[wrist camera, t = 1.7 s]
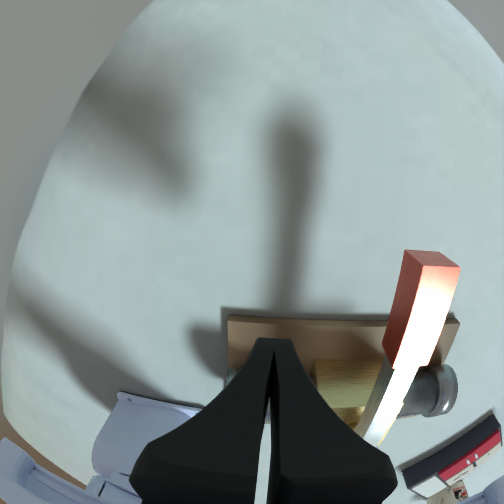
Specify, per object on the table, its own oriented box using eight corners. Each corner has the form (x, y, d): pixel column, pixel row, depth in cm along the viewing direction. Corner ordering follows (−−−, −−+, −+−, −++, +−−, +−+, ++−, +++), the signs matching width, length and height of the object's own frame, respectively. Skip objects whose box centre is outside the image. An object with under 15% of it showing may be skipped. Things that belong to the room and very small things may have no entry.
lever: (332, 452, 15) (334, 473, 13) (396, 248, 10) (414, 265, 9) (368, 449, 15) (372, 469, 13) (446, 252, 10) (467, 267, 9)
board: (231, 413, 23) (230, 420, 22) (229, 314, 20) (227, 320, 19) (413, 410, 22) (415, 416, 21) (455, 318, 18) (460, 323, 18)
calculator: (504, 449, 21) (425, 501, 25) (494, 432, 25) (419, 483, 29) (503, 428, 19) (407, 492, 23) (490, 408, 23) (400, 470, 27)
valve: (232, 397, 22) (220, 453, 16) (231, 351, 20) (216, 410, 15) (423, 393, 21) (444, 439, 15) (444, 350, 19) (474, 396, 13)
